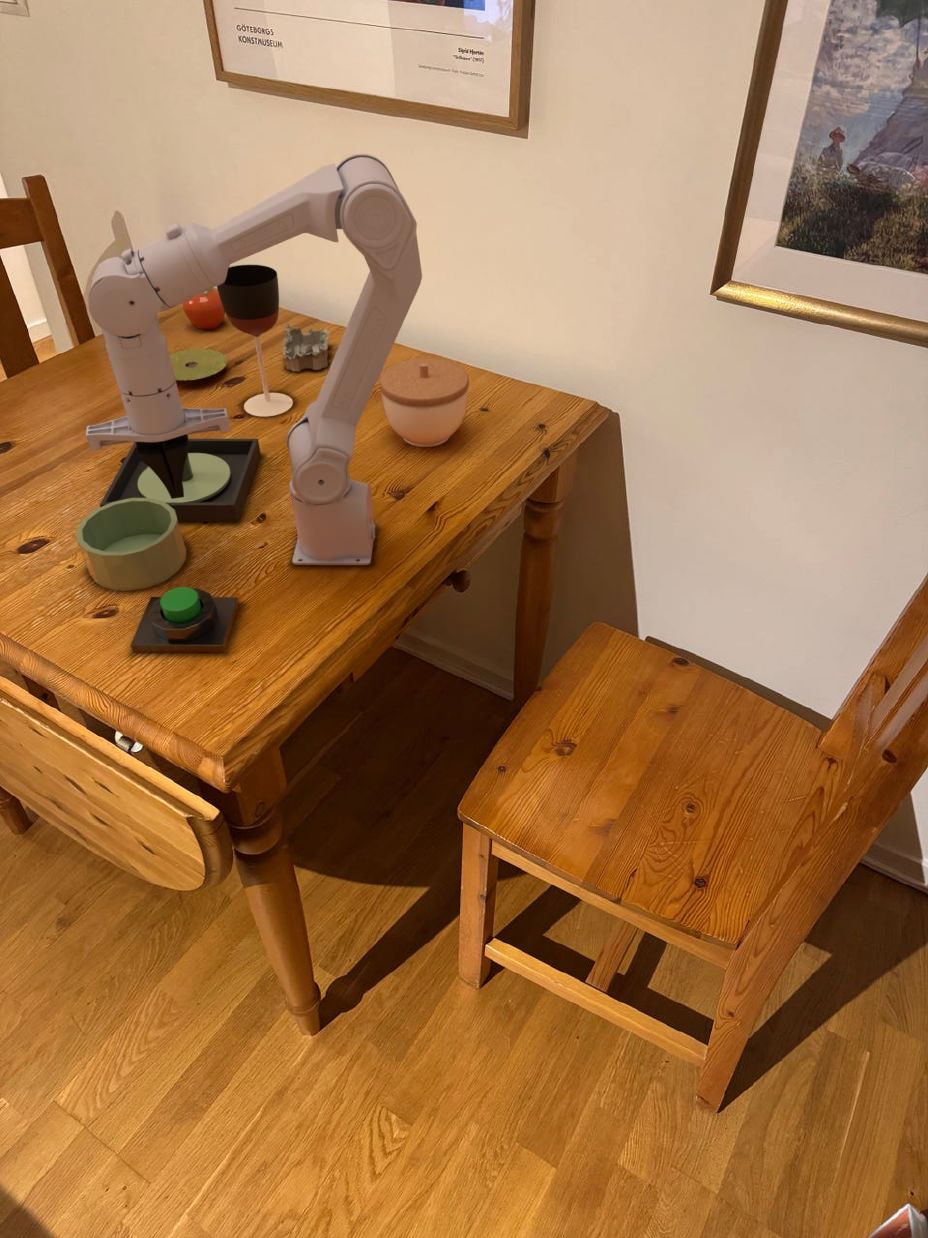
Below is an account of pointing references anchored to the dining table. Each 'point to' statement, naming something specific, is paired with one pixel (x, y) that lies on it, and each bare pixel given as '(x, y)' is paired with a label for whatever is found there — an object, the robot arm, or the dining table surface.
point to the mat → (196, 363)
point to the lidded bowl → (424, 399)
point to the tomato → (205, 310)
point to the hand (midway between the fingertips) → (177, 493)
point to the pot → (131, 543)
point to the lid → (189, 479)
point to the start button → (180, 604)
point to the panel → (187, 627)
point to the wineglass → (254, 322)
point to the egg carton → (305, 348)
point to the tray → (215, 509)
